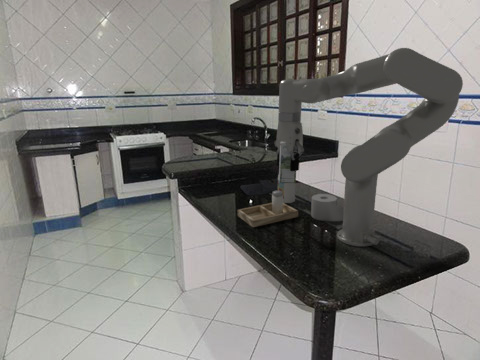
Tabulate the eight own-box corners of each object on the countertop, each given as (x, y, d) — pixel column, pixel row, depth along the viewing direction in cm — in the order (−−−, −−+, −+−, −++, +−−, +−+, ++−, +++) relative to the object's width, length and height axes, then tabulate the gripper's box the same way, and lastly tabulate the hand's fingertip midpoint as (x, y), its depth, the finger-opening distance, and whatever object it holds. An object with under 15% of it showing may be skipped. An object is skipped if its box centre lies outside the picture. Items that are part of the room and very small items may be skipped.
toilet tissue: (347, 224, 121) (348, 203, 119) (310, 222, 124) (311, 200, 122) (345, 215, 130) (346, 195, 127) (311, 213, 133) (312, 193, 130)
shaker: (285, 214, 130) (285, 192, 127) (275, 216, 128) (275, 194, 125) (279, 211, 133) (279, 189, 131) (270, 213, 132) (269, 191, 129)
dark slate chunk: (237, 189, 169) (236, 180, 168) (275, 183, 176) (275, 175, 175) (247, 198, 155) (247, 188, 154) (289, 191, 162) (289, 182, 161)
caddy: (298, 219, 127) (298, 210, 126) (253, 229, 119) (252, 220, 118) (279, 208, 139) (279, 201, 138) (237, 218, 130) (237, 209, 129)
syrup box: (294, 179, 119) (296, 139, 115) (295, 183, 114) (297, 142, 110) (278, 178, 120) (279, 139, 116) (279, 183, 114) (280, 142, 110)
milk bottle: (294, 199, 150) (295, 156, 144) (295, 205, 142) (296, 160, 137) (277, 199, 150) (277, 156, 145) (277, 205, 143) (277, 160, 138)
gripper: (314, 119, 104) (311, 172, 110) (284, 115, 119) (282, 161, 125) (295, 120, 101) (292, 175, 106) (266, 115, 116) (265, 163, 121)
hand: (287, 167), depth 115 cm, fingers closed on syrup box, 7 cm apart
